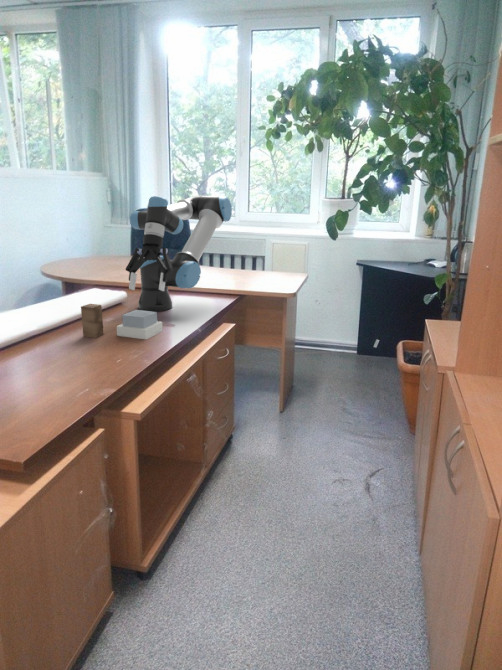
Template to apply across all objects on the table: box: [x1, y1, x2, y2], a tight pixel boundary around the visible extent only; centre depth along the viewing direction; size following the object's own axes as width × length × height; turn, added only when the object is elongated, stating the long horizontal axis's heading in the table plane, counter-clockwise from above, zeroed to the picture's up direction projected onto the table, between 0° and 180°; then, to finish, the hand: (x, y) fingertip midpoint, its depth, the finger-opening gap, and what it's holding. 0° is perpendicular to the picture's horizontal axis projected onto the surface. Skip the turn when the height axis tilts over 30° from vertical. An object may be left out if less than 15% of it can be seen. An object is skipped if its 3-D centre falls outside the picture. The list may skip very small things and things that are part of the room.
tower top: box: [121, 309, 158, 328], centre depth 176 cm, size 9×9×4 cm
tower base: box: [116, 320, 163, 340], centre depth 177 cm, size 12×12×4 cm
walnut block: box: [80, 303, 104, 339], centre depth 172 cm, size 5×5×11 cm
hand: (146, 290), depth 183 cm, fingers open, 13 cm apart
